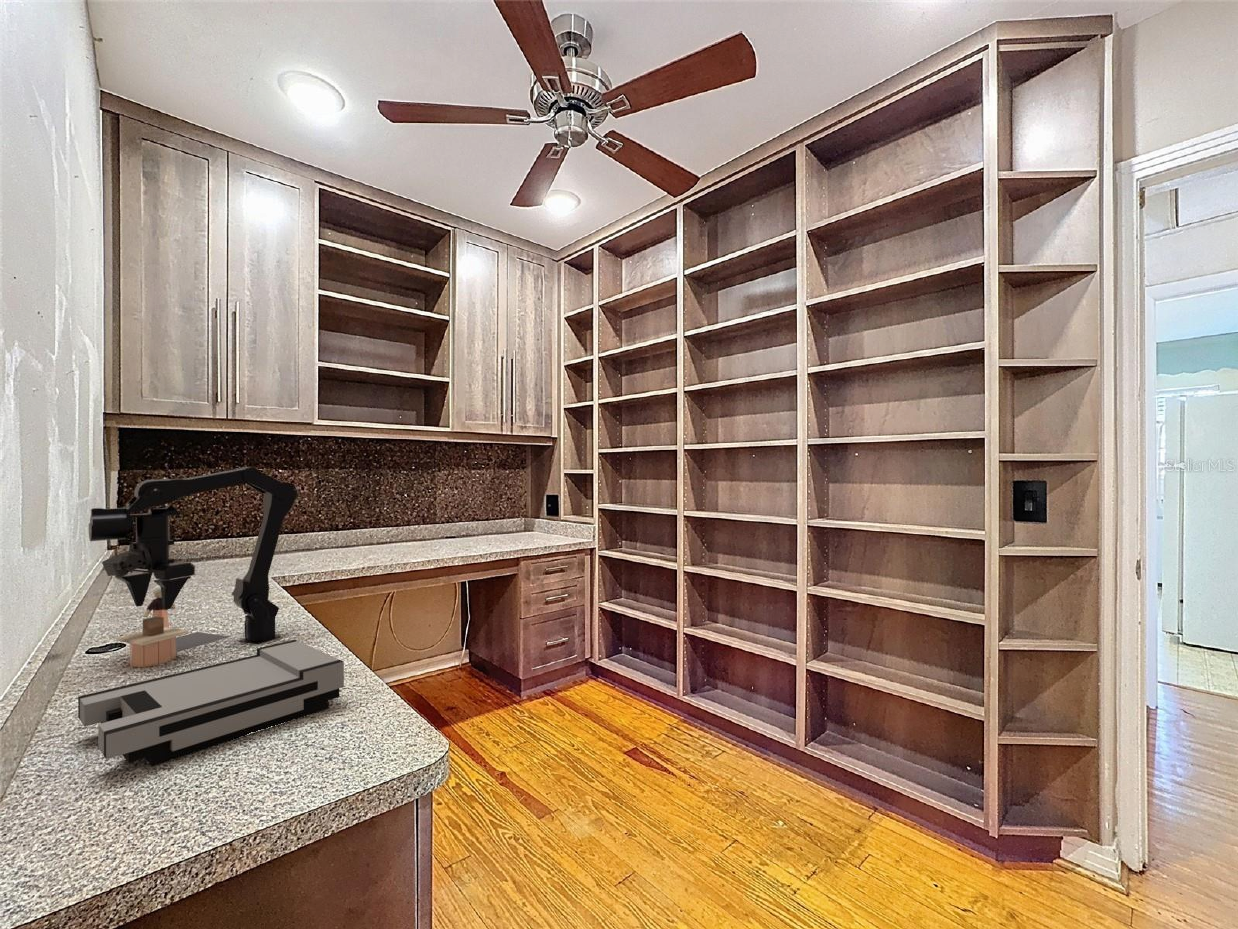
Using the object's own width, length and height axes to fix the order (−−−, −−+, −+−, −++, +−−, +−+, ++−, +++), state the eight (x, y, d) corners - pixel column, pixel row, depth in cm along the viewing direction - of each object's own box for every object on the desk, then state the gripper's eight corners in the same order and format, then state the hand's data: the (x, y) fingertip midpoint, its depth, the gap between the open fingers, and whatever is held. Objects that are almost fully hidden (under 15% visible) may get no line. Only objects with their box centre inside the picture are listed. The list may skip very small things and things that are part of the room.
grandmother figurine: (156, 638, 143) (155, 587, 143) (141, 638, 143) (140, 587, 143) (180, 629, 151) (180, 581, 151) (166, 629, 151) (165, 581, 151)
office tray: (78, 740, 90) (78, 688, 90) (295, 680, 115) (294, 639, 115) (106, 786, 77) (106, 726, 77) (344, 707, 102) (343, 661, 102)
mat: (230, 638, 142) (230, 636, 142) (179, 653, 131) (179, 651, 131) (197, 633, 147) (197, 631, 147) (145, 647, 135) (145, 646, 135)
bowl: (184, 658, 128) (184, 633, 128) (144, 670, 120) (144, 644, 120) (161, 654, 130) (161, 630, 130) (121, 666, 123) (121, 640, 123)
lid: (188, 633, 128) (188, 615, 128) (143, 645, 119) (143, 625, 119) (162, 629, 131) (162, 611, 131) (116, 640, 123) (116, 621, 123)
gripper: (81, 539, 121) (81, 613, 121) (139, 543, 114) (139, 621, 114) (140, 533, 131) (140, 601, 131) (196, 536, 125) (196, 608, 125)
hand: (152, 608), depth 125 cm, fingers open, 9 cm apart
